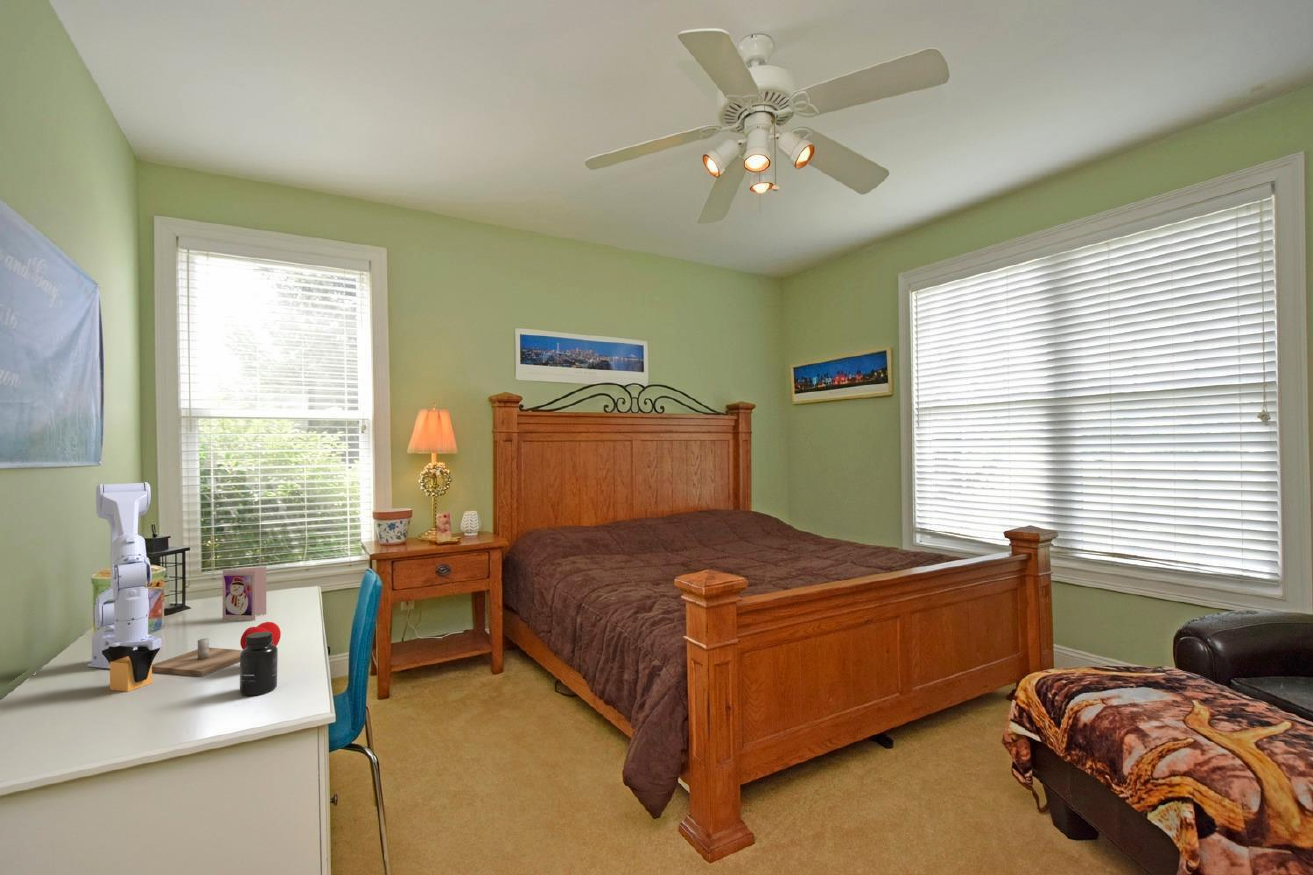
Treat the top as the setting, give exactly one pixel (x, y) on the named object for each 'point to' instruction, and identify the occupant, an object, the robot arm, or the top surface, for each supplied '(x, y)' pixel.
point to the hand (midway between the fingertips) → (131, 679)
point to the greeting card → (244, 593)
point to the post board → (199, 660)
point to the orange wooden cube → (125, 676)
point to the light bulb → (262, 628)
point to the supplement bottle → (258, 665)
